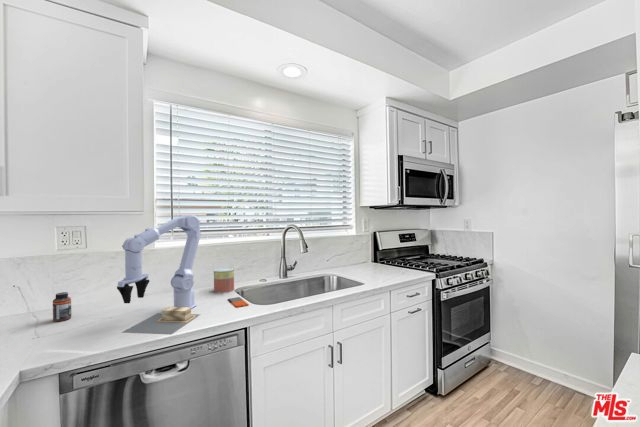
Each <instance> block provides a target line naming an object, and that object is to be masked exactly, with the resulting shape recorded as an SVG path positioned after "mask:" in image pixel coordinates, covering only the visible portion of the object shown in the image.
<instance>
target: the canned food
mask: <svg viewBox="0 0 640 427" xmlns="http://www.w3.org/2000/svg"><path fill="white" fill-rule="evenodd" d="M233 291H235V268H234V267H220V268H215V269H213V292H214V293H218V294H224V293H231V292H233Z"/></svg>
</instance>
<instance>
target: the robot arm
mask: <svg viewBox="0 0 640 427" xmlns="http://www.w3.org/2000/svg"><path fill="white" fill-rule="evenodd" d="M200 224H201V220H200V219H199V218H198V216H196V215H194V214H189V215H188V214H187V215H186V214H180V215H179V216H176V217H174V218H172V219H171V220H168V221H167V222H165V223H164V224H162V225H160V226H158V227H156V228H154V227H151V228H150V227H147V228H145V229H144V231H142V232H140V233H136V234H134V236H133V237H129V238H126V239H125V240H124V242H123V243H122V245H121V247H122V249H123V250H124V252H125V254H124V255H125V256H124V260H125V263H124V266H125V271H124V272H125V277H123V279H121V280H120V281H117V286H116V289H117V290H118V292H119V293H120V295H121V298H122V300H123V304H130V303H131V300H132V299H131V298H132V291H133V289H134V286H133V285H131V284H135V288H136V294H137V298H139V299H141V298H144V297H145V293H146V290H147V288H148V285H149V284H150V279H149V274H148V273H144V274H143V264H142V262H143V258H142V257H143V256H142V254H143V253H142V251H143V250H144V249H145V247H147V246H149V245H150V244H151V245H152V243H154V242H156V241H159V239H160V236H161V235H163V234H165V233H168V232H170V231H171V230H173V229H176V228H180V229H181V230H183V231H184V233H185V234H186V235H187V238H186V241H185V245H184V249H183V253H182V256H181V260H180V263H179V266H178V269H177V270H176V271H174V275H173V277H172V278H171V280H170V285H171V287H172V288H173V307H189V308H191V310H192V309H193V308H194V307H197V304H195V303H196V301H195V300H196V299H195V298H196V297H195V290H194V289H193V287H194V282H195V281H194V276H195V275H194V272H193V270H192V269H193V266H194V262H195V258H196V253H197V250H198V246H199V243H200V240H201V239H200V237H201V235H202V234H201V226H200Z"/></svg>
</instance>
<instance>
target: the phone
mask: <svg viewBox="0 0 640 427" xmlns="http://www.w3.org/2000/svg"><path fill="white" fill-rule="evenodd" d="M227 301H228V303H230V304H231V305H232V306H233V307H234V308H235V309H238V308H242V307H248V306H250V304H249V303H248V302H246V301H245V300H244V299H242V298H241V297H240V296H237V297H231V298H227Z"/></svg>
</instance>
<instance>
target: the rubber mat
mask: <svg viewBox="0 0 640 427" xmlns="http://www.w3.org/2000/svg"><path fill="white" fill-rule="evenodd" d="M199 316H201V313H200V314H197V313H191V317H190V318H189V319H187V320H185V321H177V320H162V312H157V313H155V314H153V315H152V316H150V317H148V318H146V319H144V320H142V321H140V322H139V323H136V324H134V325H133V326H131V327H129V328H127V329H125V330H123V331H121V333H122V334H123V333H127V334H153V335H173V334H174V333H176V332H178V331H179V330H180V329H182V328H183V327H186V325H187V324H189V323H191V322H192V321H194V320H196V318H198V317H199Z"/></svg>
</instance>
